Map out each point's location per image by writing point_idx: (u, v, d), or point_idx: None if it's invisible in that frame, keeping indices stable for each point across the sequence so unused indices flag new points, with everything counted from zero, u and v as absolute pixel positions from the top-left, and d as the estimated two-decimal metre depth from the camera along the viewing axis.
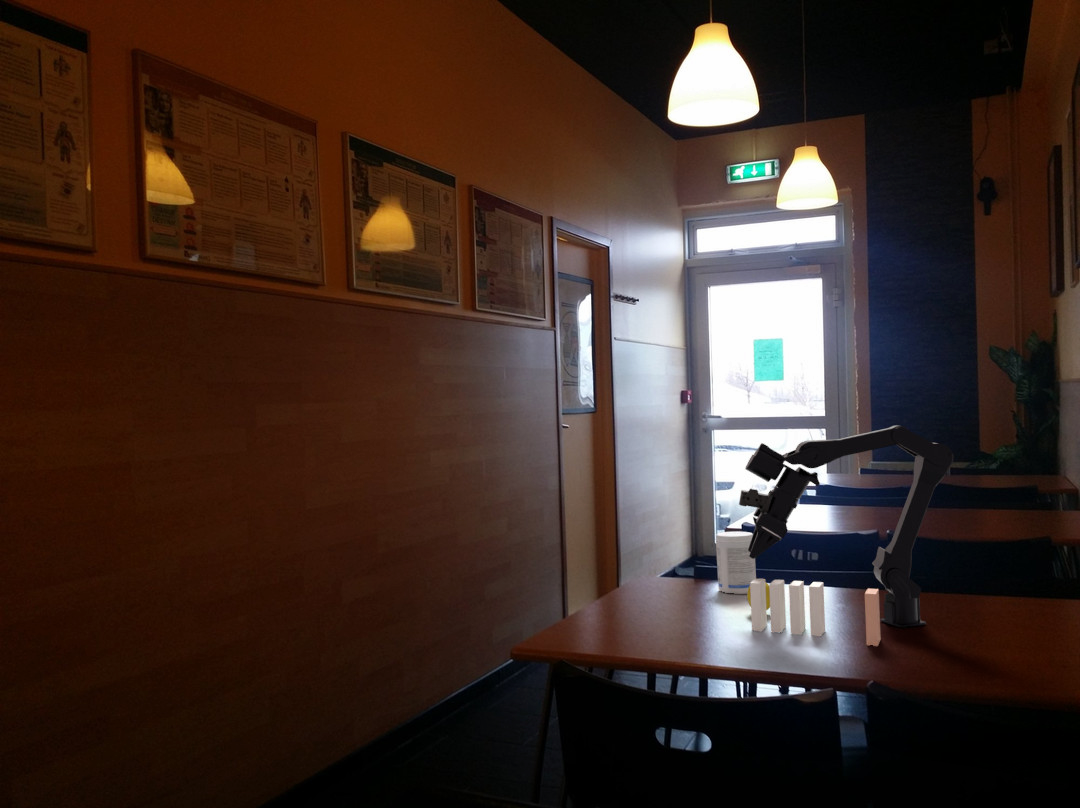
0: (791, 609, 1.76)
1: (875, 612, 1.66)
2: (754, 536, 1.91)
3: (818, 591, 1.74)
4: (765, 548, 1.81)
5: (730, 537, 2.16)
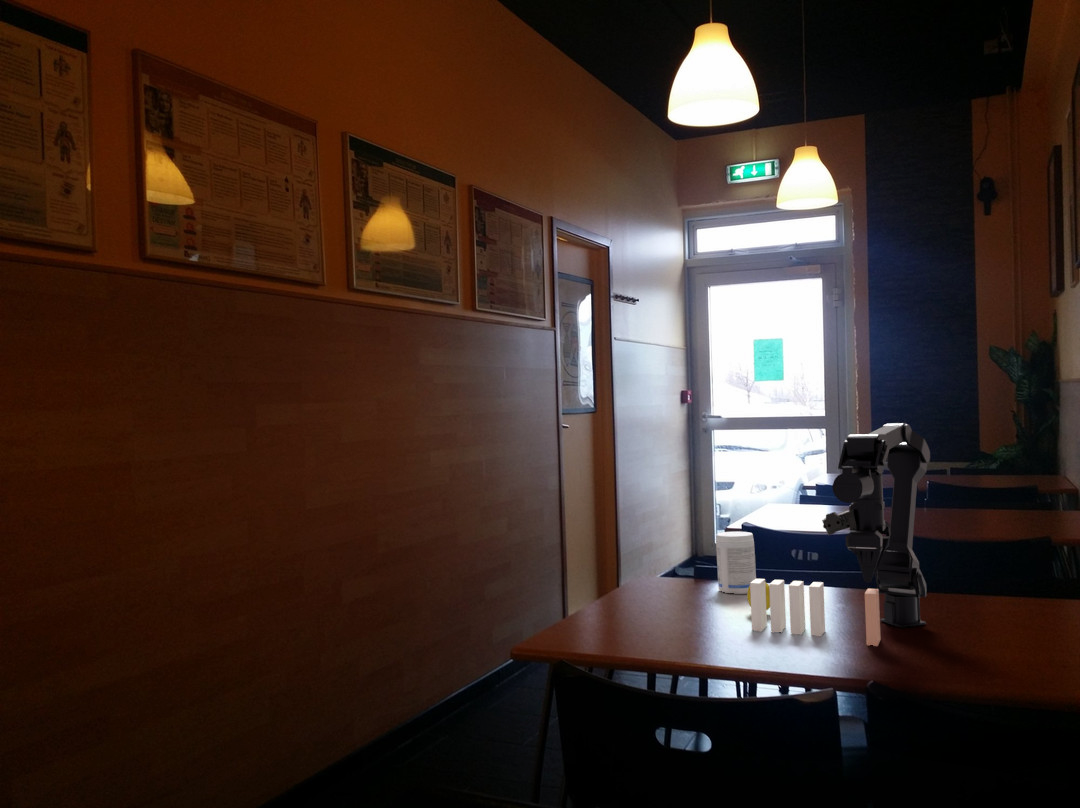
0: (791, 609, 1.76)
1: (875, 612, 1.66)
2: None
3: (818, 591, 1.74)
4: (874, 565, 1.63)
5: (730, 537, 2.16)
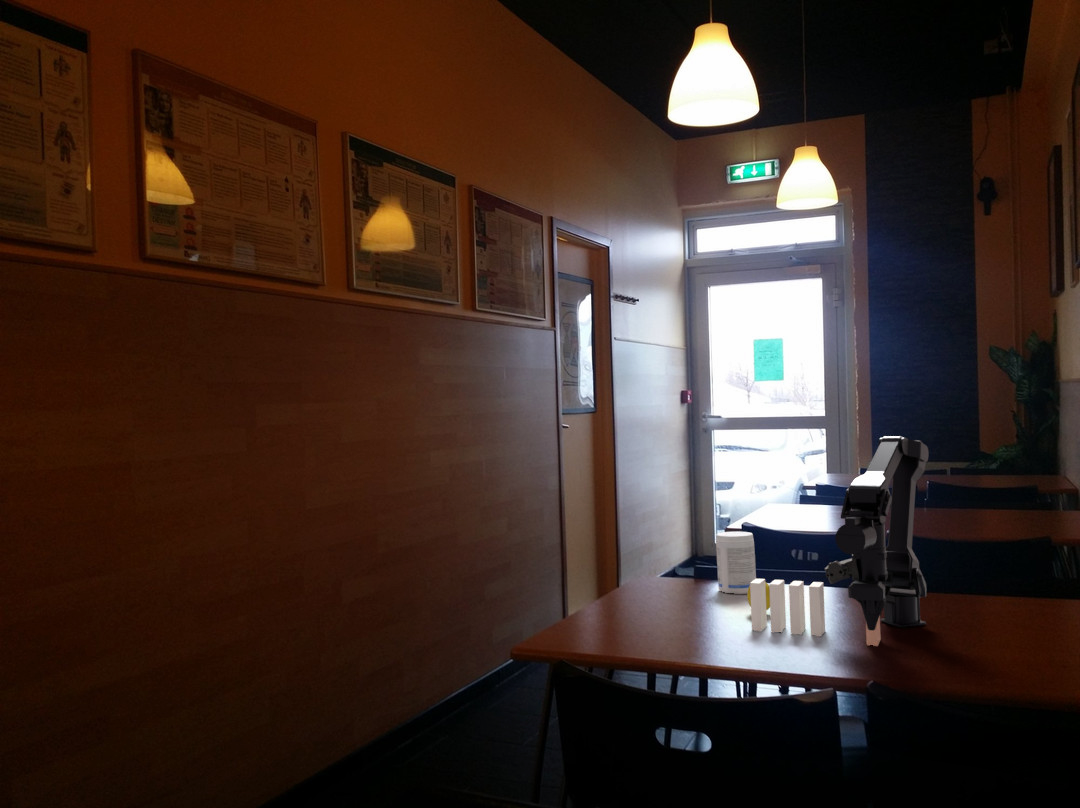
0: (791, 609, 1.76)
1: None
2: None
3: (818, 591, 1.74)
4: (877, 614, 1.64)
5: (730, 537, 2.16)
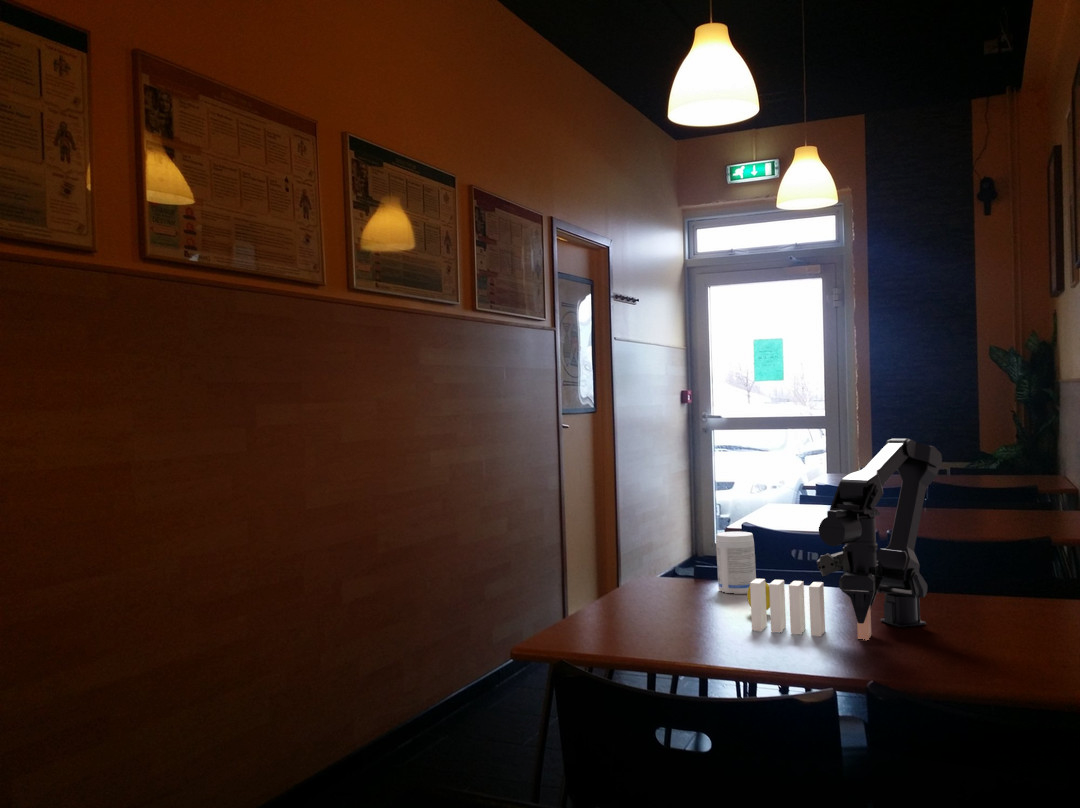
0: (791, 609, 1.76)
1: None
2: None
3: (818, 591, 1.74)
4: (867, 607, 1.66)
5: (730, 537, 2.16)
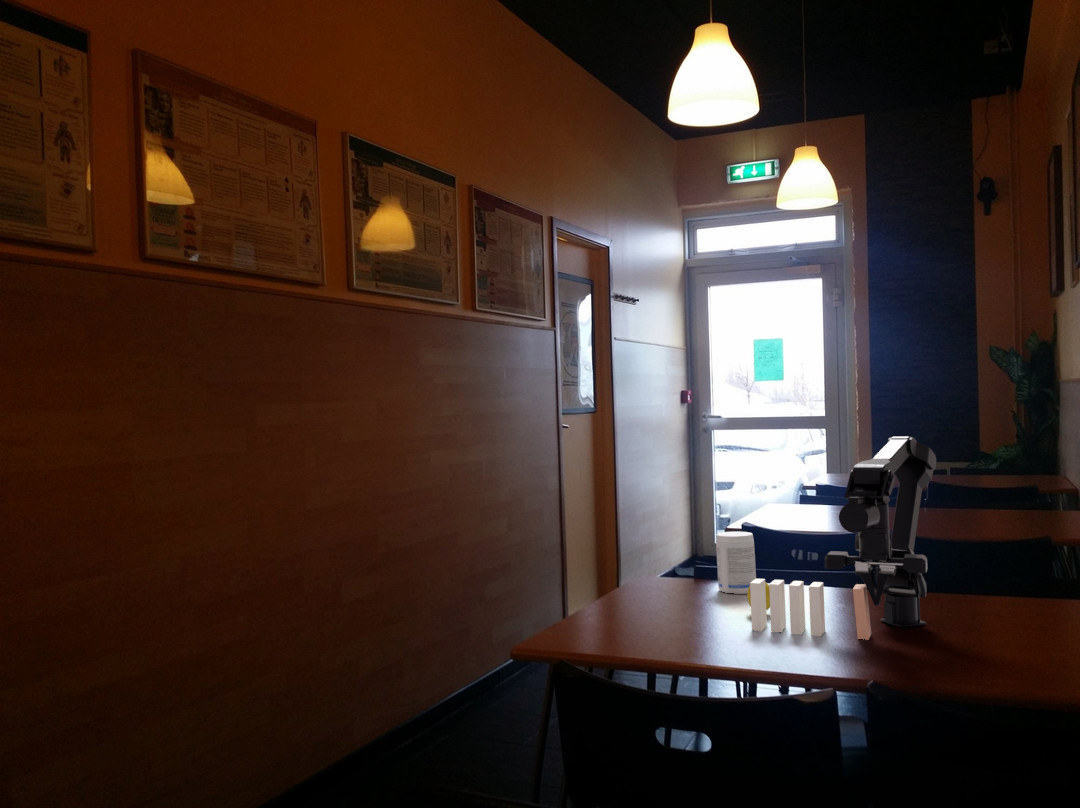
0: (791, 609, 1.76)
1: (864, 607, 1.70)
2: None
3: (818, 591, 1.74)
4: (868, 589, 1.70)
5: (730, 537, 2.16)
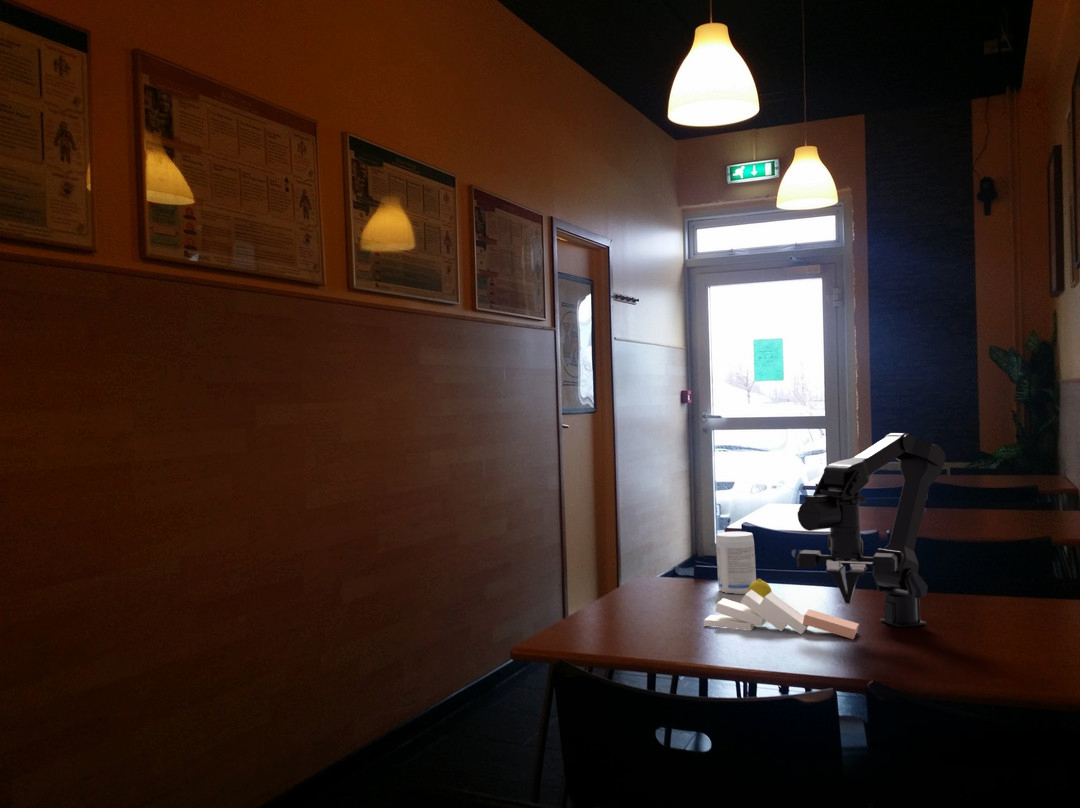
0: (761, 615, 1.79)
1: (822, 620, 1.74)
2: None
3: (768, 600, 1.79)
4: (839, 587, 1.73)
5: (730, 537, 2.16)
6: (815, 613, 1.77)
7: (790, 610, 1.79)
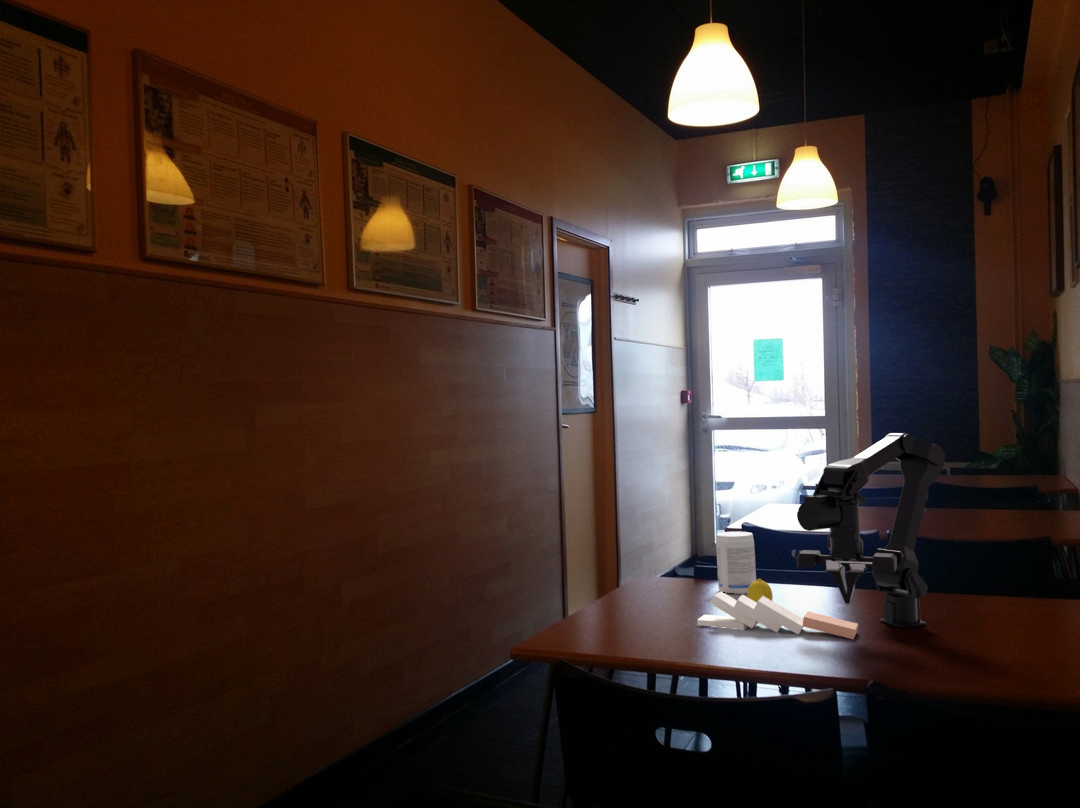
0: (755, 618, 1.79)
1: (821, 621, 1.73)
2: None
3: (761, 603, 1.79)
4: (838, 587, 1.73)
5: (730, 537, 2.16)
6: (814, 615, 1.77)
7: (784, 611, 1.79)
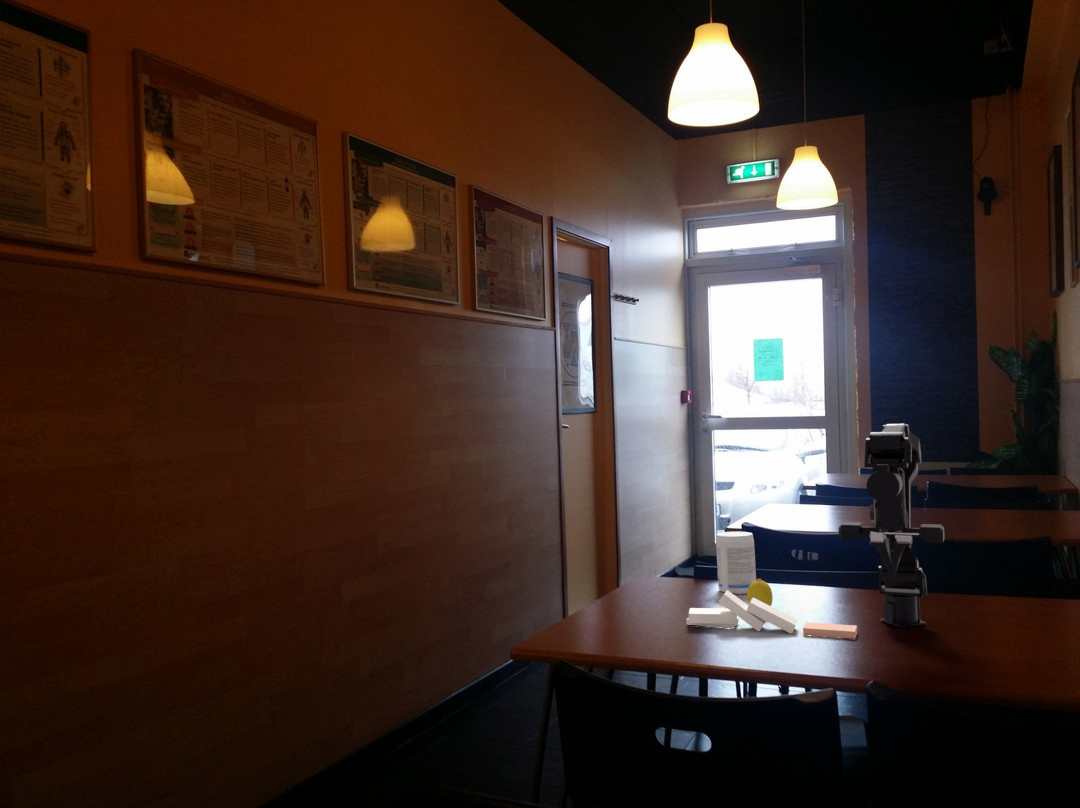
0: (739, 615, 1.80)
1: (821, 630, 1.73)
2: None
3: (753, 605, 1.79)
4: None
5: (730, 537, 2.16)
6: (813, 624, 1.77)
7: (776, 612, 1.80)
